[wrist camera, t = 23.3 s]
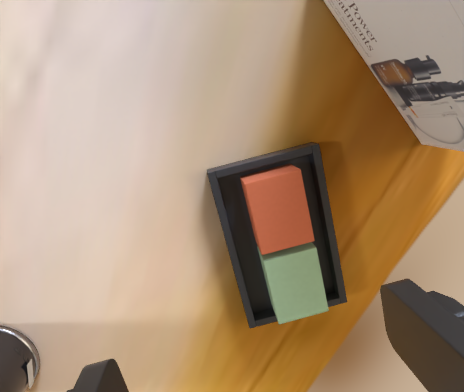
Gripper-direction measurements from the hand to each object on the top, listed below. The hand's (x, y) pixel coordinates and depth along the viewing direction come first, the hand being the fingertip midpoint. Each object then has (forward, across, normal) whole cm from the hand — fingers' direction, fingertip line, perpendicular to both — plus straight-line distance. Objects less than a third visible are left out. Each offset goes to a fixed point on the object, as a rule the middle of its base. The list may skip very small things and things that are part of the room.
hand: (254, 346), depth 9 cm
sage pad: (+25, -5, +12) cm, 29 cm away
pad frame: (+26, -5, +8) cm, 28 cm away
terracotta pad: (+25, -5, +4) cm, 26 cm away
